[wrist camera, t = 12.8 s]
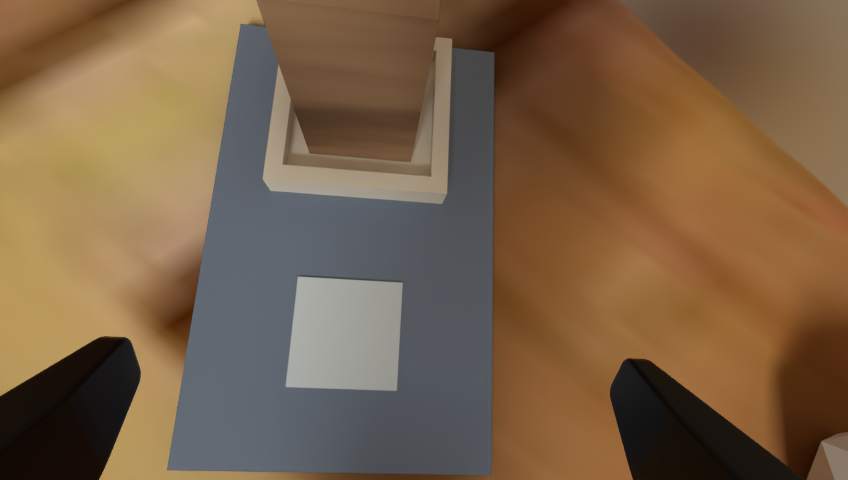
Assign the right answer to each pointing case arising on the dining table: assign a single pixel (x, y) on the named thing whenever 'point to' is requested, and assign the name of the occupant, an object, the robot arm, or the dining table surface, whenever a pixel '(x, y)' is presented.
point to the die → (831, 459)
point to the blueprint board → (345, 289)
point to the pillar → (355, 71)
